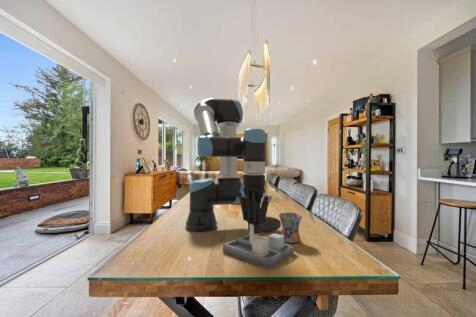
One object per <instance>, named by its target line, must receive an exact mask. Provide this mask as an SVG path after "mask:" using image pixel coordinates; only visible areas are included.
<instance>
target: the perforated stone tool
mask: <svg viewBox="0 0 476 317" xmlns="http://www.w3.org/2000/svg"><path fill="white" fill-rule="evenodd" d="M281 227H282V223H281V219H280V220H279V219H278V218H276V217H272V216H266V218H265V222H264V223H261V224H260V225H259V233H261V232H273V231H277V230H279V229H280V228H281Z"/></svg>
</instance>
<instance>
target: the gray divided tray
mask: <svg viewBox="0 0 476 317" xmlns="http://www.w3.org/2000/svg"><path fill="white" fill-rule="evenodd" d="M258 238H261V239H264V240H268V237H267V238H266V237H263V236H260V235H258ZM222 252H223V253H225V254H227V255H229V256H233V257H235V258H238V259H240V260H243V261H246V262H249V263H251V264H254V265H257V266H259V267H262V268H265V269H268V270H272V269H273V268H274V267H276V266H278V265H279V264H280V263H282V262H283V261H284V260H286V259H287V258H289V257H291V256H292V255H294V254H295V245H292V244H290V243H286V242H284V248H283V249H281V250H278V249H275V248H271V247H269V254H267V255H265V256H261V255H258V254H255V253H252V244H251V243H250V233H248V234H246V235H244V236H240V237H238V238H236V239H233V240H231V241H228V242H225V243H224V244H222Z"/></svg>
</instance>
